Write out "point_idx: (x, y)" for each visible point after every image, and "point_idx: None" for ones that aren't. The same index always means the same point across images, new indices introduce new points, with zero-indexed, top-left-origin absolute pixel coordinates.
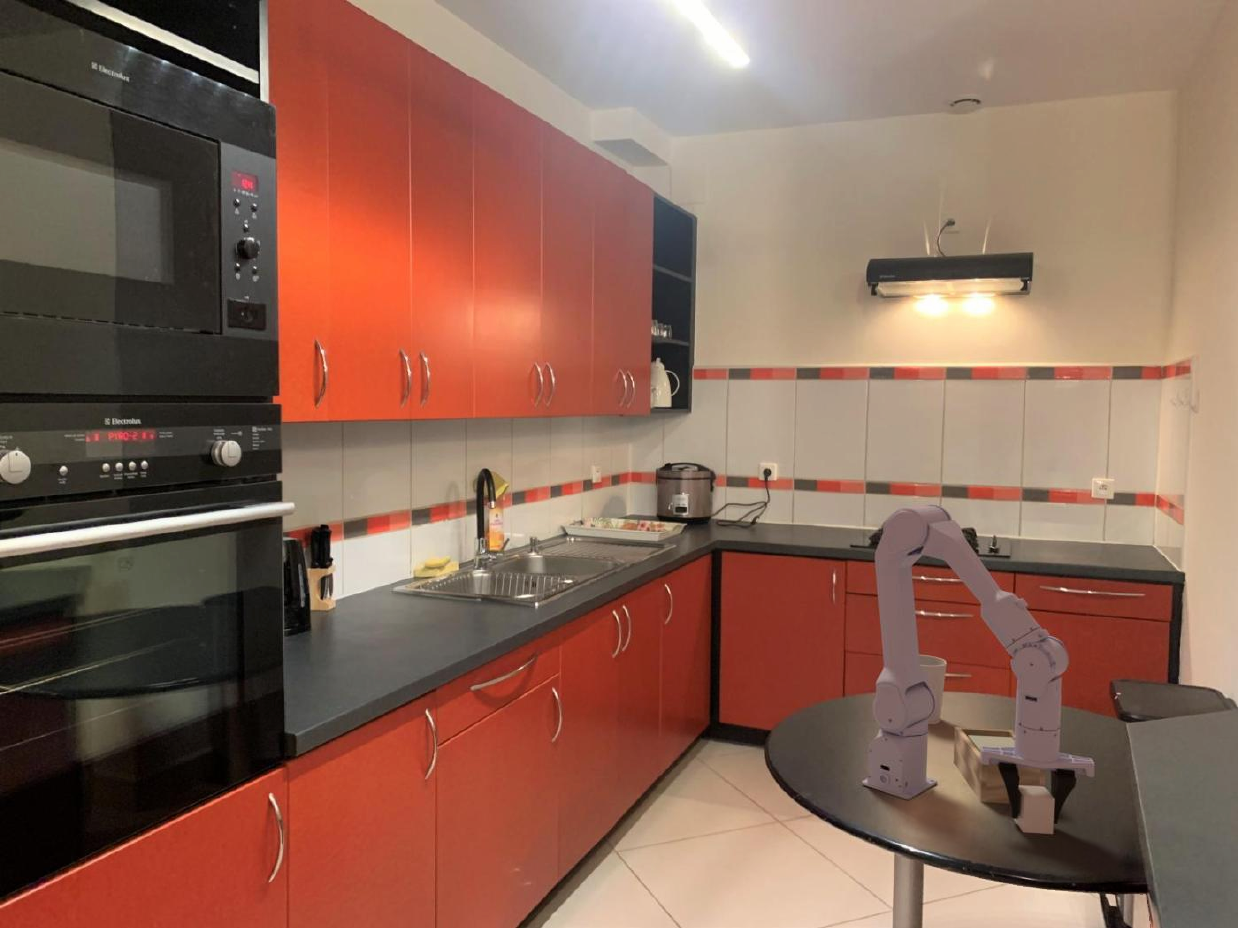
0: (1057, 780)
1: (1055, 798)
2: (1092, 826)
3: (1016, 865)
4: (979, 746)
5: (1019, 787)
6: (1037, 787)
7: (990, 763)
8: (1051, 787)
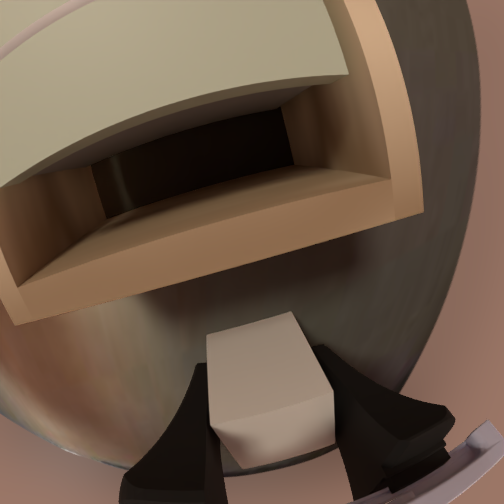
0: (356, 497)
1: (337, 440)
2: (405, 284)
3: None
4: (4, 20)
5: (227, 433)
6: (302, 408)
7: (49, 312)
8: (354, 404)
